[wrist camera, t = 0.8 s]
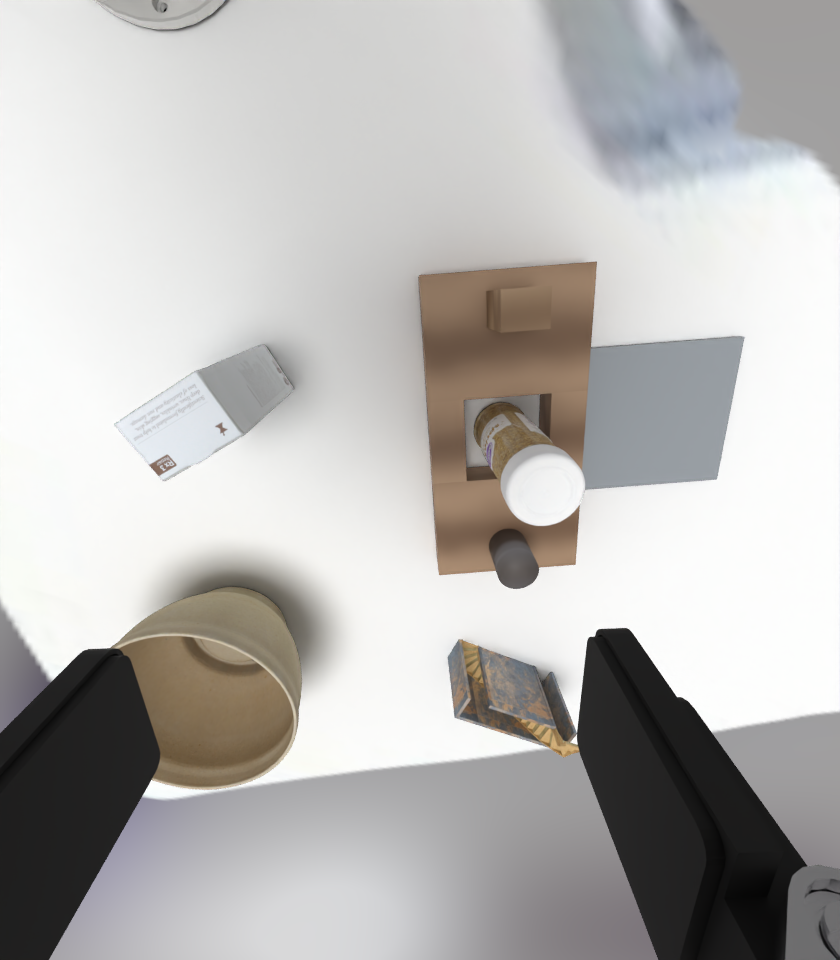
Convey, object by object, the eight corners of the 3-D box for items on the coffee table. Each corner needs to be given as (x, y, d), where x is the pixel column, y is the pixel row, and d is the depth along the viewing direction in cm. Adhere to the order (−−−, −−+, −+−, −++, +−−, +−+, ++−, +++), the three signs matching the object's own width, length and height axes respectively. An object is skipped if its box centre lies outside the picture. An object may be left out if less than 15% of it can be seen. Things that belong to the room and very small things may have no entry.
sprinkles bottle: (467, 410, 37) (499, 467, 24) (521, 394, 36) (581, 444, 24) (479, 460, 38) (515, 537, 26) (531, 446, 38) (593, 517, 26)
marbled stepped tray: (554, 666, 48) (588, 751, 39) (539, 686, 49) (569, 773, 40) (460, 633, 46) (473, 714, 37) (447, 654, 47) (457, 738, 38)
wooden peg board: (418, 277, 33) (422, 270, 25) (580, 264, 33) (631, 254, 25) (436, 556, 42) (443, 612, 34) (564, 547, 42) (598, 600, 34)
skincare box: (264, 341, 34) (194, 361, 23) (298, 391, 36) (248, 433, 25) (200, 381, 35) (104, 419, 24) (236, 428, 37) (161, 485, 26)
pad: (588, 348, 35) (590, 348, 35) (740, 336, 35) (744, 336, 35) (578, 487, 40) (580, 489, 39) (713, 477, 40) (716, 479, 39)
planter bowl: (353, 612, 44) (337, 705, 34) (264, 707, 48) (227, 814, 38) (208, 522, 40) (141, 597, 30) (125, 634, 44) (43, 733, 34)
